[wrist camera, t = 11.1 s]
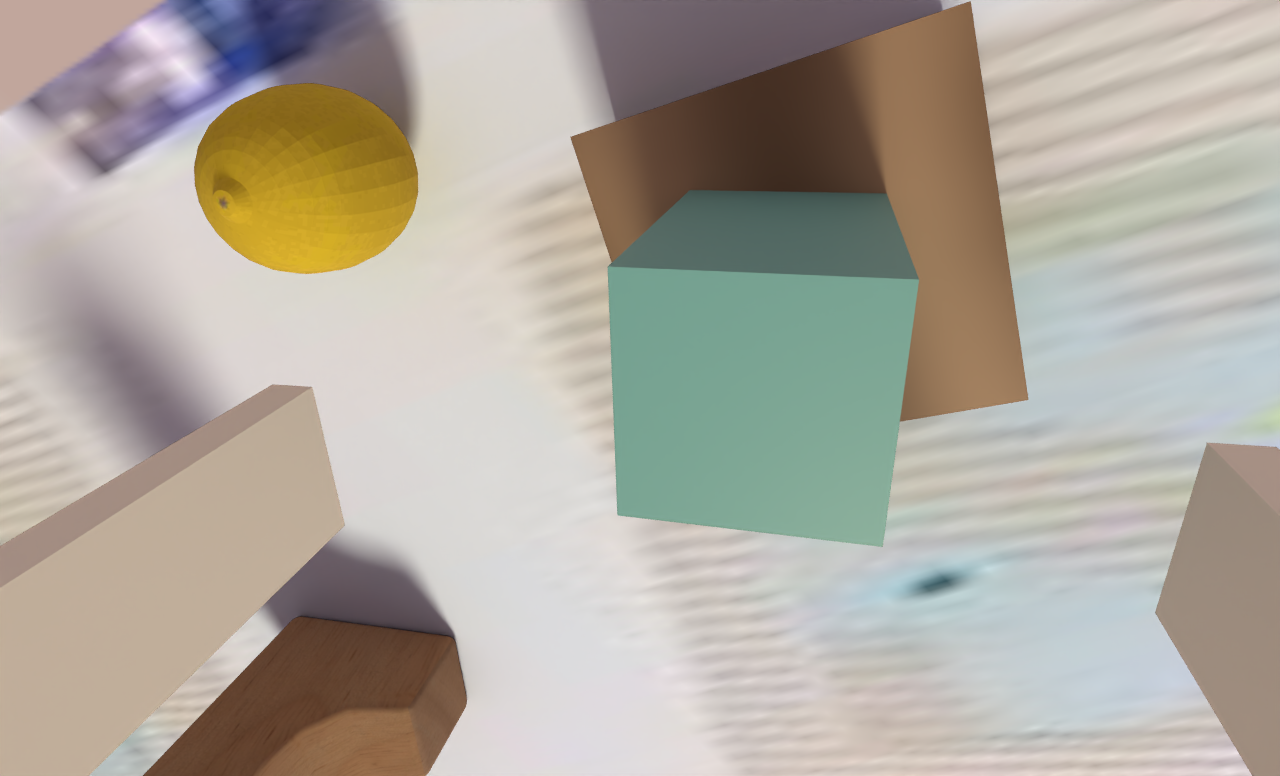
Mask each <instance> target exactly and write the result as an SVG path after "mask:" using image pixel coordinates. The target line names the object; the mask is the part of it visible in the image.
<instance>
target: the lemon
mask: <svg viewBox="0 0 1280 776" xmlns="http://www.w3.org/2000/svg"><path fill="white" fill-rule="evenodd" d="M194 174H195V187H196V191H197V195H198V199H199V203H200V205H201V207H202V209H203V211H204V214H205V216H206V218H207V220H208V221H209V222H210V224H211V225H212V227H213V228H214V230H215V231H216V232H217V234H218V235H219V236H220V237H221V238H222V239H223V240H224V241H225V242H226V243H227V244H228V245H229V246H231V247H232V248H233V249H234V250H235V251H237V252H238V253H240V254H241V255H243V256H244V257H246V258H247V259H249V260H251V261H253V262H255V263H258V264H260V265H263V266H265V267H268V268H270V269H273V270H278V271H285V272H293V273H303V274H312V273H322V272H329V271H335V270H342V269H346V268H350V267H353V266H356V265H358V264H360V263H362V262H364V261H366V260H368V259H370V258H372V257H374V256H376V255H378V254H379V253H381V252H382V251H384V250H385V249H386V248H387V247H388V246H389V245H390V244H391V243H392V242H393V241H394V240H395V239H396V238H397V237H398V236H399V235H400V234H401V233H402V231H403V230H404V229H405V227H406V225H407V223H408V221H409V219H410V217H411V216H412V214H413V211H414V208H415V204H416V199H417V195H418V171H417V167H416V163H415V159H414V154H413V152H412V150H411V148H410V146H409V144H408V142H407V139H406V137H405V136H404V135H403V133H402V132H401V131H400V129H399V128H398V127H397V125H396V124H395V123H394V121H393V120H392V119H391V118H390V117H389V116H388V115H387V114H385V113H384V112H383V111H382V110H381V109H380V108H378V107H377V106H376V105H375V104H373V103H372V102H370V101H368V100H366V99H364V98H362V97H360V96H358V95H357V94H355V93H352V92H350V91H348V90H344V89H340V88H335V87H330V86H326V85H321V84H314V83H303V84H291V85H281V86H275V87H271V88H267V89H265V90H262V91H260V92H257V93H255V94H253V95H250V96H248V97H246V98H244V99H241V100H239V101H237V102H235V103H234V104H232V105H231V106H229V107H228V108H227V109H226V110H225V111H224V112H223V113H221V114H220V115H219V116H218V117H217V118H216V119H215V120H214V121H213V122H212V123H211V124H210V125H209V127H208V129H207V131H206V132H205V134H204V136H203V138H202V140H201V142H200V144H199V146H198V150H197V155H196V160H195V166H194Z"/></svg>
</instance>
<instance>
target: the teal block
mask: <svg viewBox="0 0 1280 776" xmlns="http://www.w3.org/2000/svg"><path fill="white" fill-rule="evenodd" d="M918 284H919V278H918V275H917V273H916V270H915V267H914V265H913V262H912V259H911V257H910V254H909V251H908V249H907V246H906V243H905V241H904V238H903V235H902V233H901V230H900V227H899V225H898V222H897V219H896V217H895V214H894V211H893V209H892V206H891V203H890V201H889V198H888V195H887V193H829V192H771V191H712V190H689V191H688V192H687V193H686V194H685V195H684V196H683V197H682V198H681V199H680V200H679V201H678V202H677V203H676V204H674V205H673V206H672V207H671V208H670V209H669V210H668V211H667V212H666V213H665V214H664V215H663V216H662V217H660V218H659V219H658V220H657V221H656V222H655V223H654V224H653V225H652V226H651V227H650V228H649V229H648V230H647V231H645V232H644V233H643V234H642V235H641V236H640V237H639V238H638V239H637V240H636V241H635V242H634V243H633V244H631V245H630V246H629V247H628V248H627V249H626V250H625V251H624V252H623V253H622V254H621V255H620V256H619V257H618V258H616V259H615V260H614V261H613V262H612V263H611V264H610V265H609V266H608V287H609V312H610V337H611V363H612V388H613V413H614V438H615V464H616V489H617V514H618V515H619V516H628V517H636V518H645V519H653V520H661V521H670V522H678V523H687V524H695V525H703V526H712V527H720V528H729V529H737V530H745V531H754V532H762V533H770V534H779V535H787V536H796V537H804V538H812V539H821V540H829V541H838V542H846V543H854V544H863V545H871V546H880V547H883V540H884V533H885V526H886V518H887V511H888V504H889V497H890V489H891V482H892V475H893V467H894V460H895V453H896V445H897V438H898V431H899V423H900V416H901V409H902V401H903V394H904V387H905V379H906V372H907V365H908V357H909V350H910V343H911V335H912V328H913V321H914V313H915V306H916V299H917V292H918Z"/></svg>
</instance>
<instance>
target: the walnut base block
mask: <svg viewBox="0 0 1280 776" xmlns="http://www.w3.org/2000/svg"><path fill="white" fill-rule="evenodd" d="M571 140H572V143H573V146H574V149H575V153H576V156H577V159H578V162H579V165H580V168H581V171H582V174H583V177H584V180H585V183H586V186H587V189H588V192H589V195H590V198H591V201H592V204H593V207H594V210H595V213H596V216H597V219H598V222H599V225H600V228H601V231H602V234H603V237H604V240H605V243H606V246H607V249H608V252H609V255H610V258H611V261H612V262H613V261H614V260H615V259H616V258H618V257H619V256H620V255H621V254H622V253H623V252H624V251H625V250H626V249H627V248H628V247H629V246H630V245H631V244H633V243H634V242H635V241H636V240H637V239H638V238H639V237H640V236H641V235H642V234H643V233H644V232H645V231H647V230H648V229H649V228H650V227H651V226H652V225H653V224H654V223H655V222H656V221H657V220H658V219H659V218H660V217H662V216H663V215H664V214H665V213H666V212H667V211H668V210H669V209H670V208H671V207H672V206H673V205H674V204H676V203H677V202H678V201H679V200H680V199H681V198H682V197H683V196H684V195H685V194H686V193H687V192H688V191H689V190H712V191H771V192H829V193H887V195H888V198H889V201H890V203H891V206H892V209H893V211H894V214H895V217H896V219H897V222H898V225H899V227H900V230H901V233H902V235H903V238H904V241H905V243H906V246H907V249H908V251H909V254H910V257H911V259H912V262H913V265H914V267H915V270H916V273H917V275H918V278H919V284H918V292H917V299H916V306H915V313H914V321H913V328H912V335H911V343H910V350H909V357H908V365H907V372H906V379H905V387H904V394H903V401H902V409H901V416H900V421H906V420H912V419H918V418H924V417H930V416H936V415H942V414H948V413H953V412H959V411H965V410H971V409H977V408H983V407H989V406H995V405H1001V404H1007V403H1013V402H1019V401H1024V400H1028V394H1027V387H1026V380H1025V373H1024V366H1023V359H1022V352H1021V345H1020V338H1019V331H1018V325H1017V318H1016V311H1015V304H1014V297H1013V290H1012V283H1011V276H1010V269H1009V263H1008V256H1007V249H1006V242H1005V235H1004V228H1003V221H1002V214H1001V207H1000V200H999V194H998V187H997V180H996V173H995V166H994V159H993V152H992V145H991V138H990V131H989V125H988V118H987V111H986V104H985V97H984V90H983V83H982V76H981V69H980V62H979V56H978V49H977V42H976V35H975V28H974V21H973V14H972V7H971V1H970V2H967V3H964V4H961V5H958V6H955V7H952V8H949V9H946V10H943V11H940V12H937V13H934V14H932V15H929V16H926V17H923V18H920V19H917V20H914V21H911V22H908V23H905V24H902V25H899V26H896V27H893V28H890V29H887V30H884V31H881V32H878V33H876V34H873V35H870V36H867V37H864V38H861V39H858V40H855V41H852V42H849V43H846V44H843V45H840V46H837V47H834V48H831V49H828V50H825V51H822V52H820V53H817V54H814V55H811V56H808V57H805V58H802V59H799V60H796V61H793V62H790V63H787V64H784V65H781V66H778V67H775V68H772V69H769V70H766V71H764V72H761V73H758V74H755V75H752V76H749V77H746V78H743V79H740V80H737V81H734V82H731V83H728V84H725V85H722V86H719V87H716V88H713V89H710V90H708V91H705V92H702V93H699V94H696V95H693V96H690V97H687V98H684V99H681V100H678V101H675V102H672V103H669V104H666V105H663V106H660V107H657V108H654V109H652V110H649V111H646V112H643V113H640V114H637V115H634V116H631V117H628V118H625V119H622V120H619V121H616V122H613V123H610V124H607V125H604V126H601V127H598V128H596V129H593V130H590V131H587V132H584V133H581V134H578V135H575V136H572V137H571Z"/></svg>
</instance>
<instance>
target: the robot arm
mask: <svg viewBox="0 0 1280 776" xmlns="http://www.w3.org/2000/svg"><path fill="white" fill-rule="evenodd" d="M344 526H345V524H344V520H343V516H342V511H341V507H340V503H339V499H338V494H337V490H336V486H335V482H334V478H333V473H332V469H331V465H330V461H329V456H328V452H327V448H326V444H325V440H324V435H323V431H322V427H321V423H320V418H319V414H318V410H317V406H316V401H315V397H314V393H313V389H312V387H304V386H288V385H271V386H269V387H268V388H266V389H264V390H263V391H261V392H259V393H257V394H256V395H254V396H252V397H251V398H249V399H247V400H246V401H244V402H242V403H241V404H239V405H237V406H236V407H234V408H232V409H231V410H229V411H227V412H225V413H224V414H222V415H220V416H219V417H217V418H215V419H214V420H212V421H210V422H209V423H207V424H205V425H204V426H202V427H200V428H198V429H197V430H195V431H193V432H192V433H190V434H188V435H187V436H185V437H183V438H182V439H180V440H178V441H177V442H175V443H173V444H172V445H170V446H168V447H166V448H165V449H163V450H161V451H160V452H158V453H156V454H155V455H153V456H151V457H150V458H148V459H146V460H145V461H143V462H141V463H140V464H138V465H136V466H134V467H133V468H131V469H129V470H128V471H126V472H124V473H123V474H121V475H119V476H118V477H116V478H114V479H113V480H111V481H109V482H108V483H106V484H104V485H102V486H101V487H99V488H97V489H96V490H94V491H92V492H91V493H89V494H87V495H86V496H84V497H82V498H81V499H79V500H77V501H75V502H74V503H72V504H70V505H69V506H67V507H65V508H64V509H62V510H60V511H59V512H57V513H55V514H54V515H52V516H50V517H49V518H47V519H45V520H43V521H42V522H40V523H38V524H37V525H35V526H33V527H32V528H30V529H28V530H27V531H25V532H23V533H22V534H20V535H18V536H17V537H15V538H13V539H11V540H10V541H8V542H6V543H5V544H3V545H1V546H0V776H89V775H90V774H91V773H92V772H93V771H94V770H95V769H96V768H97V767H98V766H99V765H100V764H101V763H102V762H103V761H104V760H105V759H106V758H107V757H108V756H109V755H110V754H111V753H112V752H113V751H114V750H115V749H116V748H117V747H118V746H119V745H120V744H121V743H123V742H124V741H125V740H126V739H127V738H128V737H129V736H130V735H131V734H132V733H133V732H134V731H135V730H136V729H137V728H138V727H139V726H140V725H141V724H142V723H143V722H144V721H145V720H146V719H147V718H148V717H149V716H150V715H151V714H152V713H153V712H154V711H155V710H156V709H157V708H158V707H159V706H160V705H161V704H162V703H163V702H164V701H166V700H167V699H168V698H169V697H170V696H171V695H172V694H173V693H174V692H175V691H176V690H177V689H178V688H179V687H180V686H181V685H182V684H183V683H184V682H185V681H186V680H187V679H188V678H189V677H190V676H191V675H192V674H193V673H194V672H195V671H196V670H197V669H198V668H199V667H200V666H201V665H202V664H203V663H204V662H205V661H206V660H207V659H209V658H210V657H211V656H212V655H213V654H214V653H215V652H216V651H217V650H218V649H219V648H220V647H221V646H222V645H223V644H224V643H225V642H226V641H227V640H228V639H229V638H230V637H231V636H232V635H233V634H234V633H235V632H236V631H237V630H238V629H239V628H240V627H241V626H242V625H243V624H244V623H245V622H246V621H247V620H248V619H249V618H250V617H252V616H253V615H254V614H255V613H256V612H257V611H258V610H259V609H260V608H261V607H262V606H263V605H264V604H265V603H266V602H267V601H268V600H269V599H270V598H271V597H272V596H273V595H274V594H275V593H276V592H277V591H278V590H279V589H280V588H281V587H282V586H283V585H284V584H285V583H286V582H287V581H288V580H289V579H290V578H291V577H292V576H293V575H295V574H296V573H297V572H298V571H299V570H300V569H301V568H302V567H303V566H304V565H305V564H306V563H307V562H308V561H309V560H310V559H311V558H312V557H313V556H314V555H315V554H316V553H317V552H318V551H319V550H320V549H321V548H322V547H323V546H324V545H325V544H326V543H327V542H328V541H329V540H330V539H331V538H332V537H333V536H334V535H335V534H336V533H338V532H339V531H340V530H341V529H342V528H343V527H344ZM1155 613H1156V615H1157V617H1158V618H1159V620H1160V622H1161V623H1162V625H1163V627H1164V628H1165V630H1166V632H1167V633H1168V635H1169V637H1170V638H1171V640H1172V642H1173V643H1174V645H1175V647H1176V648H1177V650H1178V652H1179V653H1180V655H1181V657H1182V658H1183V660H1184V662H1185V664H1186V665H1187V667H1188V669H1189V670H1190V672H1191V674H1192V675H1193V677H1194V679H1195V680H1196V682H1197V684H1198V685H1199V687H1200V689H1201V690H1202V692H1203V694H1204V695H1205V697H1206V699H1207V700H1208V702H1209V704H1210V705H1211V707H1212V709H1213V710H1214V712H1215V714H1216V716H1217V717H1218V719H1219V721H1220V722H1221V724H1222V726H1223V727H1224V729H1225V731H1226V732H1227V734H1228V736H1229V737H1230V739H1231V741H1232V742H1233V744H1234V746H1235V747H1236V749H1237V751H1238V752H1239V754H1240V756H1241V757H1242V759H1243V761H1244V762H1245V764H1246V766H1247V768H1248V769H1249V771H1250V773H1251V774H1252V776H1280V450H1279V449H1278V448H1277V447H1267V446H1251V445H1235V444H1219V443H1207V445H1206V448H1205V451H1204V454H1203V458H1202V461H1201V464H1200V468H1199V471H1198V474H1197V477H1196V481H1195V484H1194V487H1193V490H1192V494H1191V497H1190V500H1189V504H1188V507H1187V510H1186V513H1185V517H1184V520H1183V523H1182V527H1181V530H1180V533H1179V536H1178V540H1177V543H1176V546H1175V550H1174V553H1173V556H1172V559H1171V563H1170V566H1169V569H1168V573H1167V576H1166V579H1165V582H1164V586H1163V589H1162V592H1161V595H1160V599H1159V602H1158V605H1157V609H1156V612H1155Z"/></svg>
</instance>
